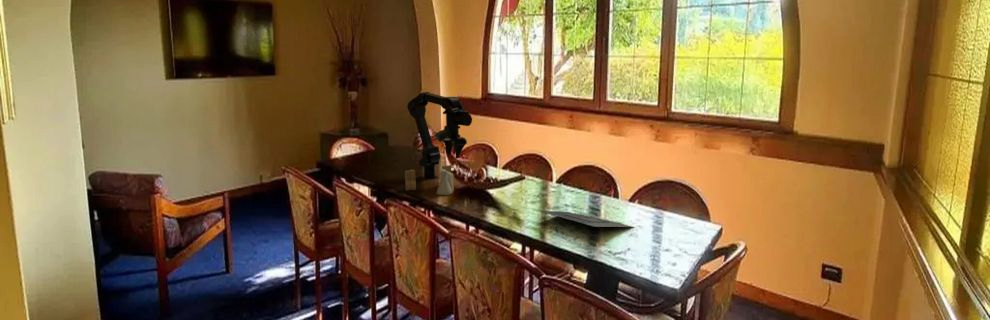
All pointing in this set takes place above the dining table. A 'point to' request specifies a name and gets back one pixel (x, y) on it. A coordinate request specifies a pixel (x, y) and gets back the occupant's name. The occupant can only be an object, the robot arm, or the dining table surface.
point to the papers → (585, 219)
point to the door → (449, 178)
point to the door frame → (411, 180)
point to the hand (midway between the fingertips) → (453, 156)
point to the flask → (444, 185)
